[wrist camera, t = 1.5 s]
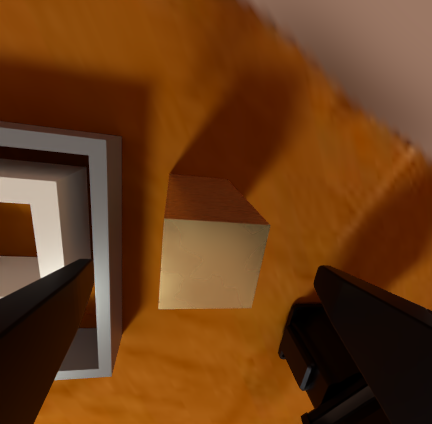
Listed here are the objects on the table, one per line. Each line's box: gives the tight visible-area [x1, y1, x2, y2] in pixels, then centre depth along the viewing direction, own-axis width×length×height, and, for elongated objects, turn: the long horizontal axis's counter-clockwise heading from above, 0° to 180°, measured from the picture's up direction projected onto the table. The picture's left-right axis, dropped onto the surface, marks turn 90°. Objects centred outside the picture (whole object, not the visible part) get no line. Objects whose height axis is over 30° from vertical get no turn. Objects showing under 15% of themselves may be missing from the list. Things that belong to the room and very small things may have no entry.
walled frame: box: [0, 121, 122, 380], centre depth 14 cm, size 12×16×4 cm
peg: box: [158, 173, 270, 309], centre depth 13 cm, size 4×4×8 cm
